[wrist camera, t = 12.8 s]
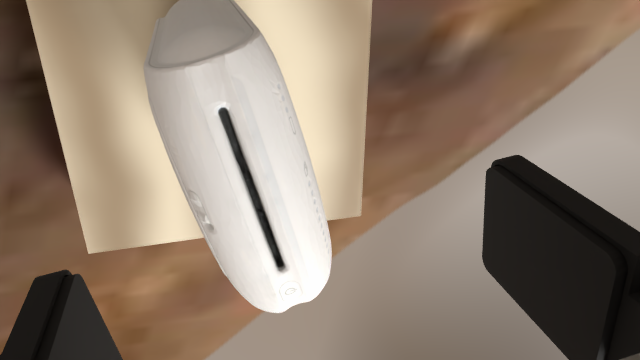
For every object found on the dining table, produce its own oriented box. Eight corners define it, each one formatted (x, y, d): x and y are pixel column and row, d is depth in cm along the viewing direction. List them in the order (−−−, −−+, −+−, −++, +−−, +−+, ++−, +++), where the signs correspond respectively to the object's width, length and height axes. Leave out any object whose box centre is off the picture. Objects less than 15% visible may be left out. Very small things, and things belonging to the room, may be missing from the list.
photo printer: (292, 168, 27) (364, 313, 16) (221, 193, 27) (246, 359, 16) (234, -19, 22) (282, 15, 11) (144, 7, 22) (107, 69, 11)
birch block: (338, -65, 28) (375, -68, 23) (332, 176, 35) (360, 215, 30) (42, -70, 24) (7, -76, 19) (102, 203, 31) (88, 253, 26)
